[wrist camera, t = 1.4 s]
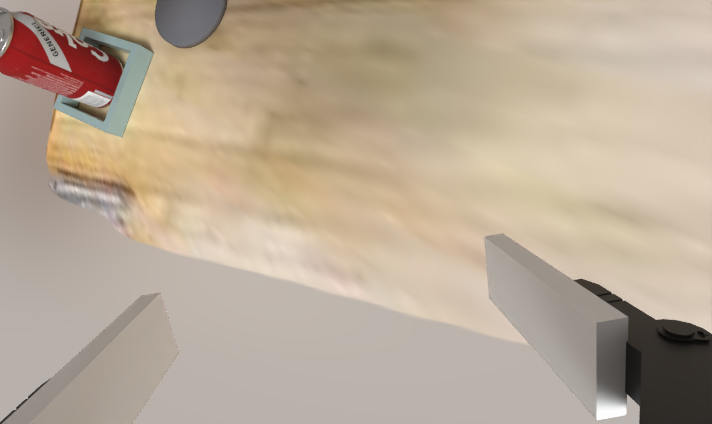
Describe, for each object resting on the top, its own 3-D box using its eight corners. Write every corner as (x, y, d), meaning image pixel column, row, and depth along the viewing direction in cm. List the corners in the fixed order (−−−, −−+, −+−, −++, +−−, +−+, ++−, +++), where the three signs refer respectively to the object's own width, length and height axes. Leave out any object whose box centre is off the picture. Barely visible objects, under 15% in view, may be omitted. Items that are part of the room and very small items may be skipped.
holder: (98, 35, 50) (82, 27, 48) (153, 53, 46) (138, 44, 44) (69, 113, 50) (53, 108, 48) (121, 137, 46) (106, 132, 44)
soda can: (123, 111, 47) (5, 66, 35) (87, 109, 49) (-34, 67, 38) (133, 58, 47) (20, -2, 36) (97, 59, 49) (-20, 3, 38)
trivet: (178, -39, 46) (173, -44, 45) (239, -28, 42) (235, -33, 42) (149, 38, 46) (144, 35, 46) (207, 56, 43) (202, 52, 42)
